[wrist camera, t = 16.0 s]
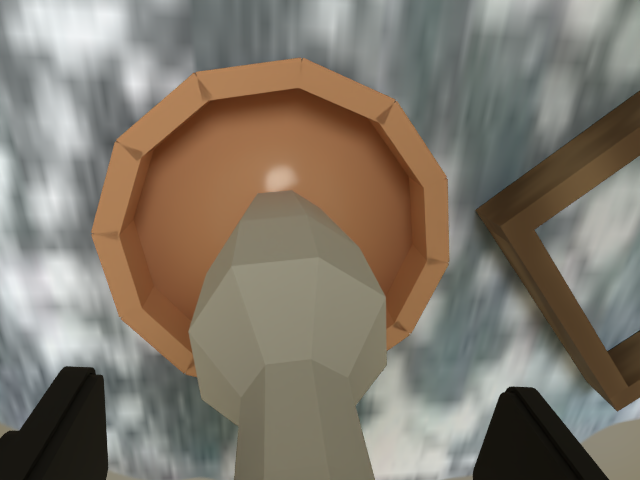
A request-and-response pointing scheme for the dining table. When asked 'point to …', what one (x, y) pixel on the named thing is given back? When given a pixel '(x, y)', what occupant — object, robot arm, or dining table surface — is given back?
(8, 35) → the dining table surface
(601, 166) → the square wooden frame
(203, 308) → the faceted bottle
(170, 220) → the terracotta dish
